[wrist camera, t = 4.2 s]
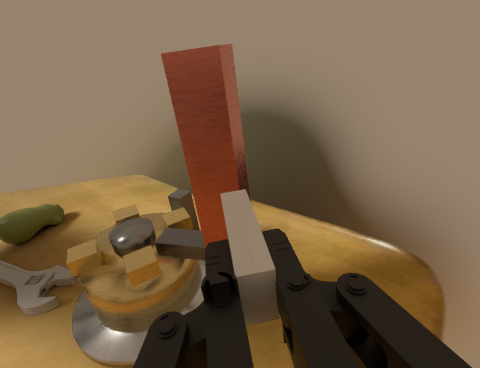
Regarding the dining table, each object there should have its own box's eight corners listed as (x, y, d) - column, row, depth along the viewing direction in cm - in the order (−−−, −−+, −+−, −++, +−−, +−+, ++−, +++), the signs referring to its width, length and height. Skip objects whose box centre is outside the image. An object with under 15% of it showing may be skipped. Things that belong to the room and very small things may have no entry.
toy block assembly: (71, 320, 28) (-74, 85, 18) (138, 245, 38) (72, 67, 28) (243, 361, 22) (182, 48, 12) (269, 260, 33) (249, 42, 22)
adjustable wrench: (-45, 267, 42) (-52, 259, 42) (1, 242, 47) (-4, 234, 46) (37, 323, 31) (30, 313, 30) (88, 282, 35) (83, 272, 35)
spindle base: (69, 286, 35) (35, 226, 30) (188, 230, 42) (175, 176, 38) (86, 413, 22) (31, 339, 17) (253, 298, 29) (243, 228, 25)
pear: (-17, 217, 43) (48, 196, 52) (-5, 246, 45) (55, 221, 53) (2, 222, 41) (66, 199, 49) (13, 252, 42) (73, 225, 51)
